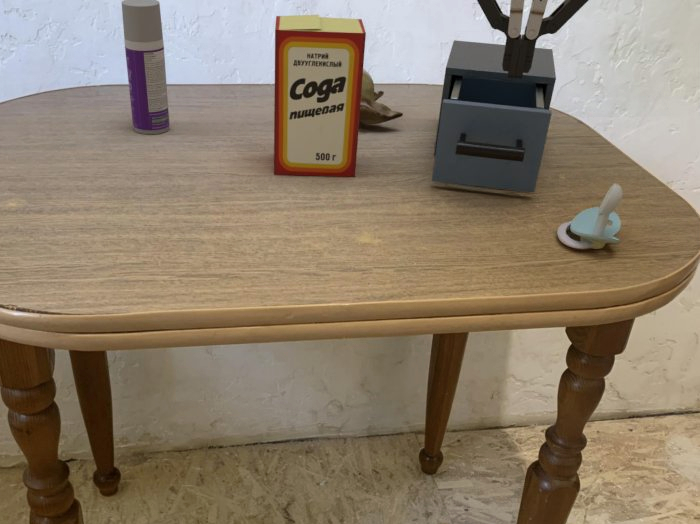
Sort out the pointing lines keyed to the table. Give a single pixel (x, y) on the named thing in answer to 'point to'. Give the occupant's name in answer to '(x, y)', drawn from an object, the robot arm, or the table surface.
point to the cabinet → (495, 68)
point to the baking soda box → (317, 94)
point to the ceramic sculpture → (373, 104)
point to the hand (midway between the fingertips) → (514, 76)
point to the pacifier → (595, 223)
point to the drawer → (492, 134)
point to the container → (146, 65)
